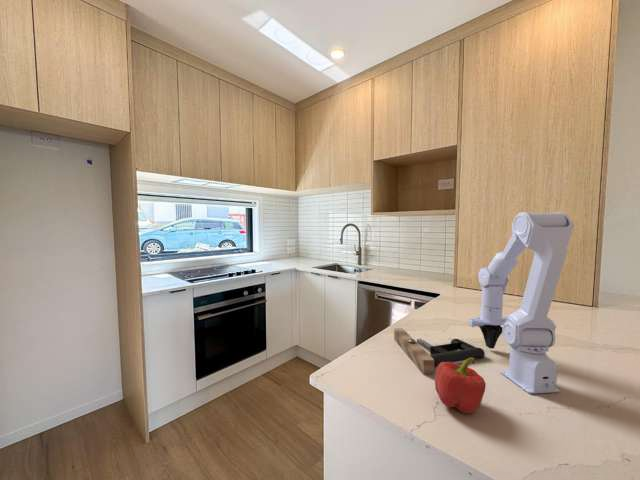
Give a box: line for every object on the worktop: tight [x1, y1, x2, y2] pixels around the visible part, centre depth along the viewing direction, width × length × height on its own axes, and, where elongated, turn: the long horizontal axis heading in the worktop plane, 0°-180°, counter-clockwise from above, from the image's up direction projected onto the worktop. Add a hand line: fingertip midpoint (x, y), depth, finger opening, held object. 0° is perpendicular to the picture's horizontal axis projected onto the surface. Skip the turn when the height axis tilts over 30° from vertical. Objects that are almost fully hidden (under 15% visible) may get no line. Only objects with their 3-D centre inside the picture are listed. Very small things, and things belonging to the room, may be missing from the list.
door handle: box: [416, 338, 486, 367], centre depth 85 cm, size 3×20×16 cm
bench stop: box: [393, 327, 435, 375], centre depth 83 cm, size 22×3×5 cm, turn 5°
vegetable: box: [434, 358, 487, 414], centre depth 60 cm, size 11×10×10 cm
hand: (489, 347), depth 86 cm, fingers closed
